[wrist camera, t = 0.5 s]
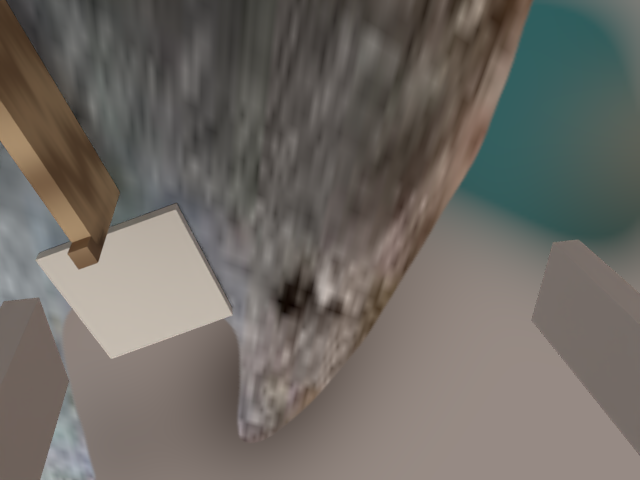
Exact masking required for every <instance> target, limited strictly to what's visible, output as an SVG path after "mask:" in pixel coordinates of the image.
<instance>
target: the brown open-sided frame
mask: <svg viewBox="0 0 640 480" xmlns="http://www.w3.org/2000/svg"><path fill="white" fill-rule="evenodd" d="M0 141H1V142H2V144H3V145H4V147H5V148H6V150H7V151H8V152H9V154H10V155H11V157H12V158H13V160H14V161H15V162H16V164H17V165H18V167H19V168H20V170H21V171H22V172H23V174H24V175H25V177H26V178H27V180H28V181H29V182H30V184H31V185H32V187H33V188H34V190H35V191H36V192H37V194H38V195H39V197H40V198H41V200H42V201H43V202H44V204H45V205H46V207H47V208H48V210H49V211H50V212H51V214H52V215H53V217H54V218H55V220H56V221H57V222H58V224H59V225H60V227H61V228H62V230H63V231H64V232H65V234H66V235H67V237H68V238H69V240H70V241H71V242H72V244H71V246H70V248H69V251H68V253H67V254H68V256H69V257H70V258H71V260H72V261H73V263H74V264H75V265H76V267H77V268H78V270H80V269H82V268H85V267H88V266H91V265H93V264H96V263H98V262H99V258H100V255H101V252H102V249H103V245H104V242H105V239H106V236H107V233H108V229H109V226H110V223H111V220H112V217H113V213H114V210H115V207H116V204H117V200H118V197H119V194H120V192H119V190H118V188H117V187H116V185H115V183H114V182H113V180H112V178H111V177H110V175H109V173H108V172H107V170H106V168H105V166H104V165H103V163H102V161H101V160H100V158H99V156H98V155H97V153H96V151H95V150H94V148H93V146H92V145H91V143H90V141H89V140H88V138H87V136H86V135H85V133H84V131H83V130H82V128H81V126H80V125H79V123H78V121H77V119H76V118H75V116H74V114H73V113H72V111H71V109H70V108H69V106H68V104H67V103H66V101H65V99H64V98H63V96H62V94H61V93H60V91H59V89H58V88H57V86H56V84H55V83H54V81H53V79H52V77H51V76H50V74H49V72H48V71H47V69H46V67H45V66H44V64H43V62H42V61H41V59H40V57H39V56H38V54H37V52H36V51H35V49H34V47H33V46H32V44H31V42H30V41H29V39H28V37H27V36H26V34H25V32H24V30H23V29H22V27H21V25H20V24H19V22H18V20H17V19H16V17H15V15H14V14H13V12H12V10H11V9H10V7H9V5H8V4H7V2H6V0H0Z"/></svg>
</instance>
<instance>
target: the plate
mask: <svg viewBox="0 0 640 480" xmlns="http://www.w3.org/2000/svg"><path fill="white" fill-rule="evenodd" d="M71 244H72V242H71V241H70V242H68V243H65V244H62V245H59V246H57V247H54V248H51V249H48V250H46V251H43V252H40V253H39V254H38V256H37V258H36V262H37V263H38V264H39V266H40V267H41V268H42V269H43V271H44V272H45V273H46V275H47V276H48V277H49V279H50V280H51V281H52V283H53V284H54V285H55V286H56V288H57V289H58V290H59V292H60V293H61V294H62V296H63V297H64V298H65V299H66V301H67V302H68V303H69V305H70V306H71V307H72V309H73V310H74V311H75V312H76V314H77V315H78V316H79V318H80V319H81V320H82V322H83V323H84V324H85V326H86V327H87V328H88V329H89V331H90V332H91V333H92V335H93V336H94V337H95V338H96V340H97V341H98V342H99V344H100V345H101V346H102V348H103V349H104V350H105V352H106V353H107V354H108V356H109V357H110V358H111V359H112V358H115V357H118V356H121V355H123V354H126V353H129V352H132V351H135V350H137V349H140V348H143V347H146V346H148V345H151V344H154V343H157V342H160V341H162V340H165V339H168V338H170V337H173V336H176V335H179V334H182V333H184V332H187V331H190V330H193V329H195V328H198V327H201V326H204V325H207V324H209V323H212V322H215V321H218V320H221V319H223V318H226V317H229V316H232V315H233V313H232V307H231V305H230V303H229V301H228V299H227V297H226V295H225V293H224V292H223V290H222V288H221V286H220V284H219V282H218V280H217V278H216V276H215V275H214V273H213V271H212V269H211V267H210V265H209V263H208V261H207V260H206V258H205V256H204V254H203V252H202V250H201V248H200V246H199V245H198V243H197V241H196V239H195V237H194V235H193V233H192V231H191V229H190V228H189V226H188V224H187V222H186V220H185V218H184V216H183V214H182V213H181V211H180V209H179V207H178V205H177V203H175V204H173V205H170V206H167V207H164V208H162V209H159V210H156V211H153V212H151V213H148V214H145V215H142V216H140V217H137V218H134V219H131V220H128V221H126V222H123V223H120V224H117V225H115V226H112V227H109V229H108V233H107V236H106V239H105V242H104V245H103V249H102V252H101V255H100V258H99V262H98V263H96V264H93V265H91V266H88V267H85V268H82V269H80V270H78V268H77V267H76V265H75V264H74V263H73V261H72V260H71V258H70V257H69V256H68V254H67V253H68V251H69V248H70V246H71Z"/></svg>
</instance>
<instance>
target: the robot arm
mask: <svg viewBox="0 0 640 480" xmlns="http://www.w3.org/2000/svg"><path fill="white" fill-rule="evenodd" d="M532 321H533V323H534V324H535V325H536V327H537V328H538V329H539V330H540V332H541V333H542V334H543V335H544V337H545V338H546V339H547V340H548V341H549V343H550V344H551V345H552V347H553V348H554V349H555V350H556V351H557V353H558V354H559V355H560V356H561V358H562V359H563V360H564V361H565V363H566V364H567V365H568V366H569V367H570V369H571V370H572V371H573V373H574V374H575V375H576V376H577V378H578V379H579V380H580V381H581V383H582V384H583V385H584V386H585V388H586V389H587V390H588V391H589V393H590V394H591V395H592V396H593V398H594V399H595V400H596V401H597V403H598V404H599V405H600V406H601V408H602V409H603V410H604V411H605V412H606V414H607V415H608V416H609V418H610V419H611V420H612V421H613V423H614V424H615V425H616V426H617V428H618V429H619V430H620V431H621V433H622V434H623V435H624V436H625V438H626V439H627V440H628V441H629V443H630V444H631V445H632V446H633V448H634V449H635V450H636V451H637V453H638V454H639V455H640V293H639V292H638V291H637V290H635V289H634V288H633V287H632V286H631V285H630V284H628V283H627V282H626V281H625V280H624V279H623V278H621V277H620V276H619V275H618V274H617V273H616V272H615V271H614V270H613V269H611V268H610V267H609V266H608V265H607V264H606V263H605V262H603V261H602V260H601V259H600V258H599V257H598V256H596V255H595V254H594V253H593V252H592V251H591V250H590V249H589V248H587V247H586V246H585V245H584V244H583V243H582V242H581V241H579V240H571V241H561V242H553V244H552V247H551V251H550V255H549V258H548V262H547V265H546V269H545V273H544V276H543V280H542V284H541V287H540V291H539V295H538V298H537V302H536V305H535V309H534V313H533V316H532ZM68 383H69V379H68V377H67V374H66V371H65V368H64V365H63V363H62V360H61V357H60V354H59V352H58V349H57V346H56V343H55V341H54V338H53V335H52V332H51V330H50V327H49V324H48V321H47V318H46V316H45V313H44V310H43V307H42V305H41V302H40V299H39V298H31V299H22V300H12V301H4V302H3V304H2V306H1V308H0V480H40V478H41V475H42V472H43V468H44V465H45V461H46V458H47V455H48V451H49V448H50V444H51V441H52V438H53V434H54V431H55V427H56V424H57V420H58V417H59V414H60V410H61V407H62V403H63V400H64V397H65V393H66V390H67V386H68Z"/></svg>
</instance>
